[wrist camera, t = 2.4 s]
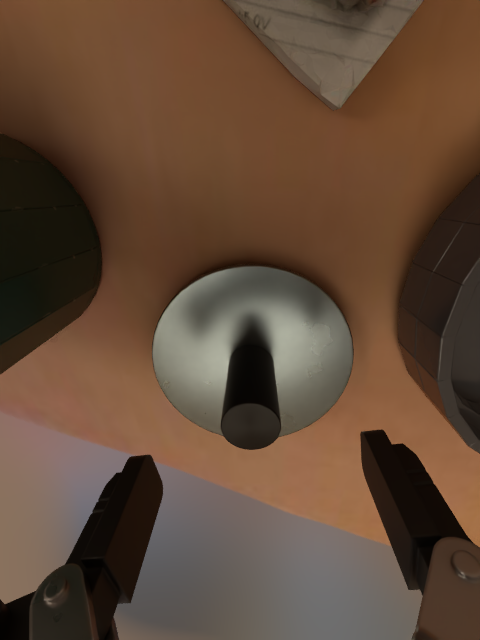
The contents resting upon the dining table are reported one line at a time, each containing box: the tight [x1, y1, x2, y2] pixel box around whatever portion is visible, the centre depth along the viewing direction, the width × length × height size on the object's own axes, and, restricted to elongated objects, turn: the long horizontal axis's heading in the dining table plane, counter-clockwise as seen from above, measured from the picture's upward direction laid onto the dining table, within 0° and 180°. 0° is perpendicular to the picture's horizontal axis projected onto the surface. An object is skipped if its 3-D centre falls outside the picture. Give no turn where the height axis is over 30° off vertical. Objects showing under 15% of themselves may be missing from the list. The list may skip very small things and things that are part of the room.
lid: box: [152, 264, 353, 450], centre depth 15 cm, size 12×12×6 cm
